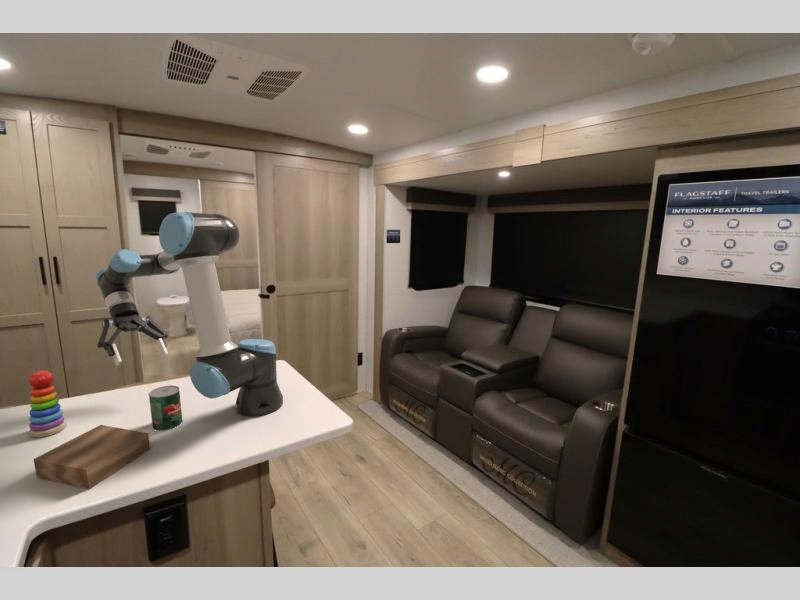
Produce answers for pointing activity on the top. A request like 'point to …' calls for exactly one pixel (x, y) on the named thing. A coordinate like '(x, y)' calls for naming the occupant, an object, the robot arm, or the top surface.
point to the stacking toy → (44, 406)
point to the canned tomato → (165, 408)
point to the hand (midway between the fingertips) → (143, 359)
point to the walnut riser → (92, 456)
